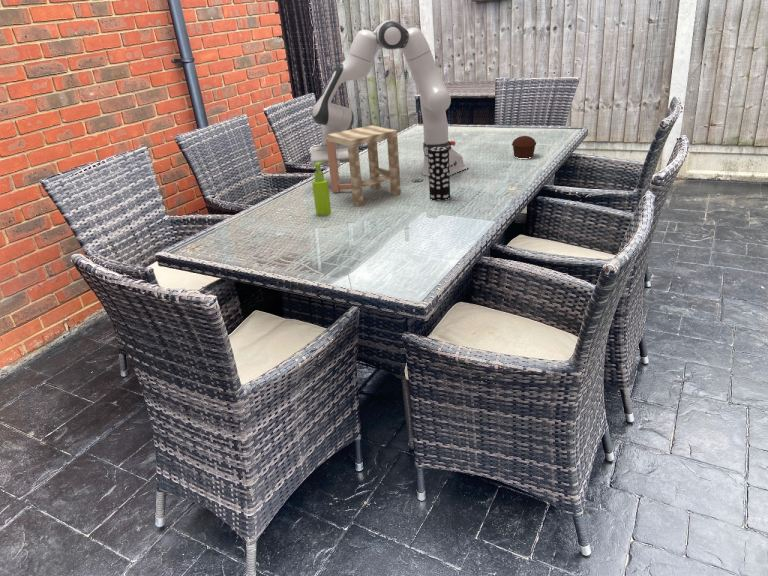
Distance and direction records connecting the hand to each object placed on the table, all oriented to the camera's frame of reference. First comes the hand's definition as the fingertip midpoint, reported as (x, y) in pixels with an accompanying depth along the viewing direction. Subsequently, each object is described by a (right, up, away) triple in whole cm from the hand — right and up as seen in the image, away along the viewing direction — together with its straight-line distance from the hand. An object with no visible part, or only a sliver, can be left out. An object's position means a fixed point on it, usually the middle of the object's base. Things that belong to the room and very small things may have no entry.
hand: (334, 171), depth 256 cm
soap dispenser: (-2, -22, -24) cm, 32 cm away
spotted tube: (+44, -15, -17) cm, 50 cm away
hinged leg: (+5, -9, -1) cm, 10 cm away
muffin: (+90, +13, +30) cm, 96 cm away
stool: (+14, -12, -8) cm, 20 cm away
